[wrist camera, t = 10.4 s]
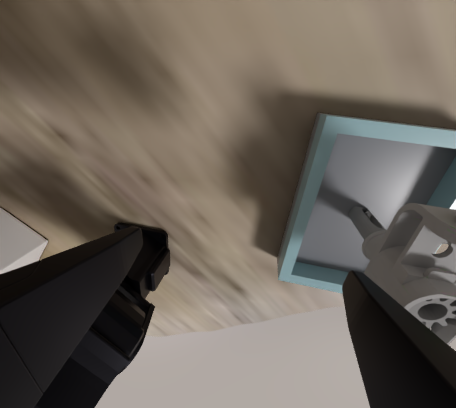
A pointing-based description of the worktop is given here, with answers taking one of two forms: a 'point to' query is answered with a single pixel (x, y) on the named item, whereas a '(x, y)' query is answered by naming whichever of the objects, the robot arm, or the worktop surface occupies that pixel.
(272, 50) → the worktop surface
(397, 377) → the robot arm
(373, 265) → the mechanical component
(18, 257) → the milk carton
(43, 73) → the worktop surface
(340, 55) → the worktop surface
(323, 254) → the tray
